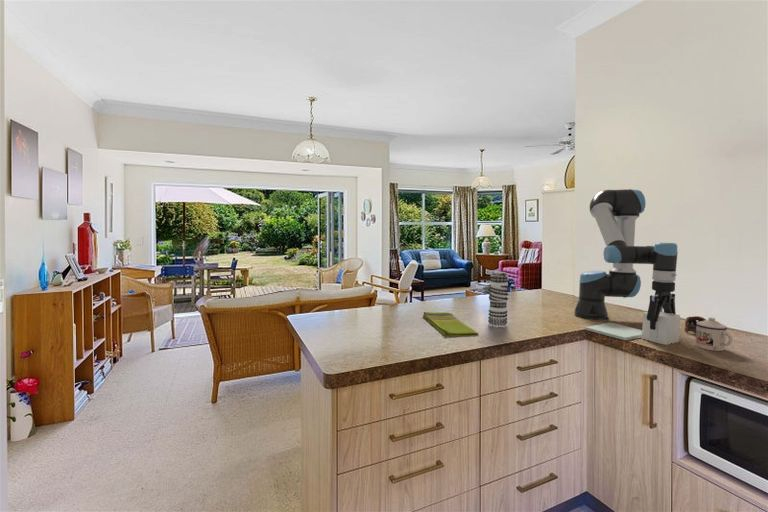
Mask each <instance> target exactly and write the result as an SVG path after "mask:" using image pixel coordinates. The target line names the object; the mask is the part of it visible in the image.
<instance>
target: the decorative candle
mask: <svg viewBox="0 0 768 512" xmlns="http://www.w3.org/2000/svg"><path fill="white" fill-rule="evenodd" d="M508 279H509V275H508V274H507V273H506V272H504V271H492V272H491V274H490V281H489V285H488V291H489V292H488V301H489V308H488V312H489V313H488V317H487V319H488V321H487V322H488V326H490V327H492V326H493V327H492V328H498V327H503V328H507V327H508V307H507V306H508V305H507V303H508V302H509V297H508V296H509V289H508V288H510V285H509V283H508ZM506 326H507V327H506Z"/></svg>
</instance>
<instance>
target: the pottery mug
mask: <svg viewBox="0 0 768 512" xmlns="http://www.w3.org/2000/svg"><path fill="white" fill-rule="evenodd" d="M704 320H707V319H706V318H704V317H702V316H687V317H686V319H685V321H684V322H685V324H684V326H685V327H684V332H685V333H686V332H687V334H688V333H689V332H696V329H697V325H696V324H697V322H700V321H704Z"/></svg>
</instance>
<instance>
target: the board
mask: <svg viewBox="0 0 768 512" xmlns="http://www.w3.org/2000/svg"><path fill="white" fill-rule="evenodd" d="M584 330H585V331H589V332H592V333H596V334H599V335H604V336H608V337H611V338H615V339H619V340H622V341H630V340H636V339H640V338H642V329H640V328H639V329H638V328H635V327H630V326H626V325H622V324H617V323H612V322H608V323H607V322H606V323H602V324H601V323H600V324H596V325H589V326H584Z"/></svg>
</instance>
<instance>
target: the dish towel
mask: <svg viewBox="0 0 768 512" xmlns="http://www.w3.org/2000/svg"><path fill="white" fill-rule="evenodd" d="M422 318H423V319H424V320H426V321H427V322H428V323H429V324H430V325H431V326H432V327H433V328H434V329H435V330H437V331H438V333H440V334H441V335H442V336H444V337H445V338H446V337H447V338H449V337H452V336H453V337H469V336H468V335H477V336H479V333H478V332H477V331H475V330H474V329H473V328H472V327H470V326H468V325H466V324H465V323H463V322H462V321H460V319H458V317H456V316H454V314H452V313H450V312H430V311H424V312H423V315H422Z"/></svg>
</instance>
